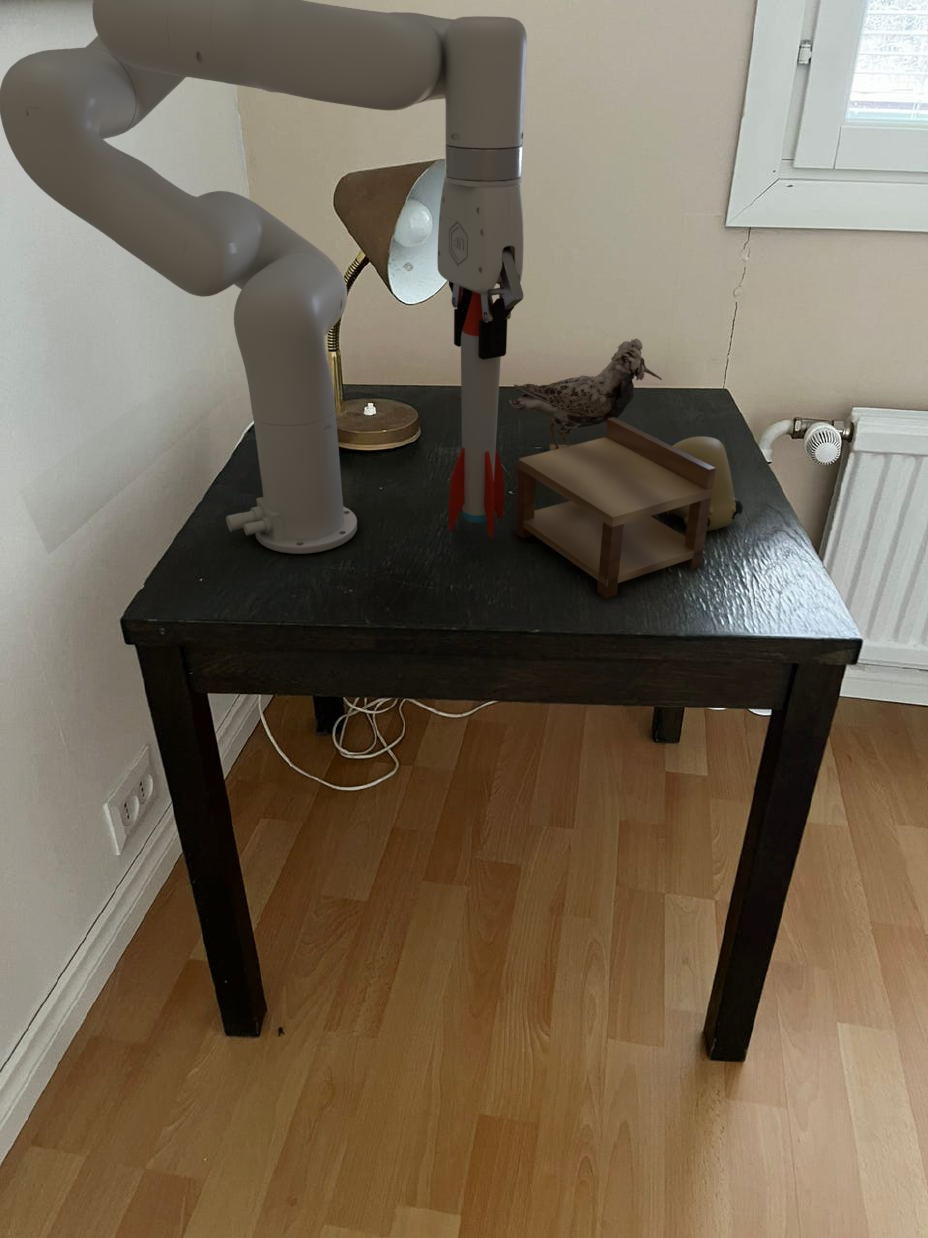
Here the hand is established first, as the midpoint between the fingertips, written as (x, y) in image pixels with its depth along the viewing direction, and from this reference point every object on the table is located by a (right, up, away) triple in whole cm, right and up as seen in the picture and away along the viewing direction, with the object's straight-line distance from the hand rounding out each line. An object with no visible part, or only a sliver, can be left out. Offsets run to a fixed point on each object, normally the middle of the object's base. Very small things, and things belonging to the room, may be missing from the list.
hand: (479, 348), depth 103 cm
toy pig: (+28, -16, +19) cm, 37 cm away
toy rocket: (0, -18, +12) cm, 22 cm away
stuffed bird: (+15, -7, +34) cm, 37 cm away
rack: (+15, -21, +11) cm, 28 cm away
